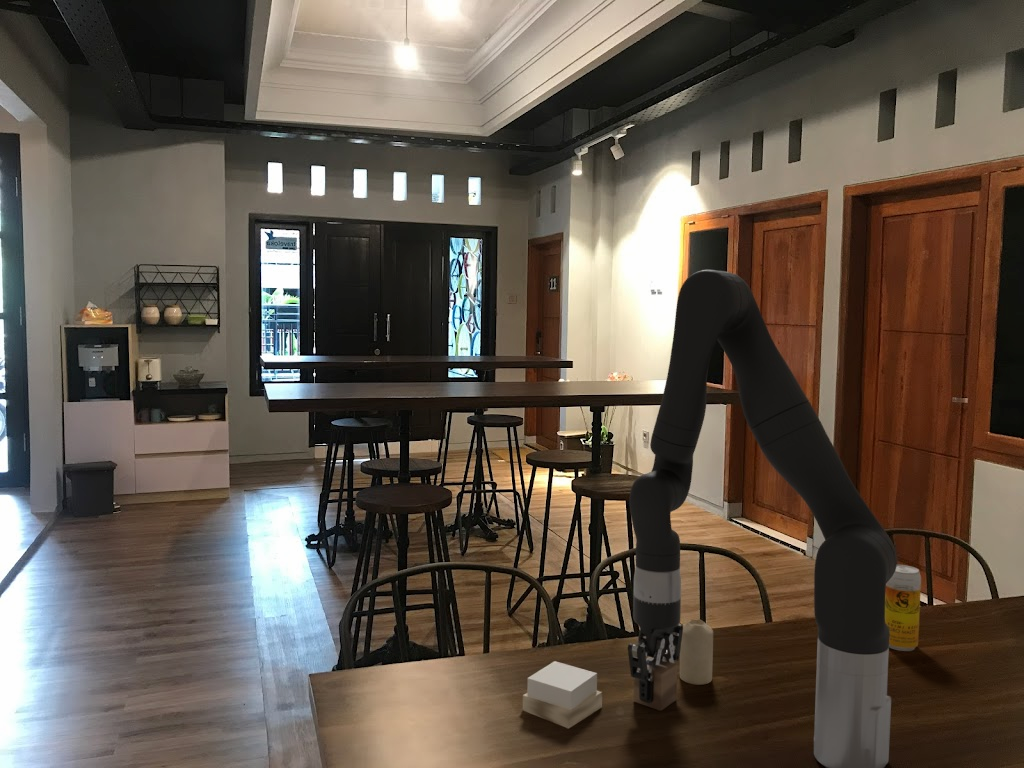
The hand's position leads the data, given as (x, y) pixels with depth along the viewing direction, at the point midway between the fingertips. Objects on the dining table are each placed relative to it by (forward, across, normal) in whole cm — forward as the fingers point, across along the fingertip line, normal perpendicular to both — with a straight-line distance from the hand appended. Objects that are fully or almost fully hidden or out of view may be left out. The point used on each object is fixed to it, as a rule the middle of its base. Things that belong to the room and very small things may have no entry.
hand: (655, 694), depth 135 cm
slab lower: (+2, -12, +10) cm, 16 cm away
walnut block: (+1, 0, 0) cm, 1 cm away
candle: (+1, +12, -1) cm, 12 cm away
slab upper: (-1, -12, +10) cm, 16 cm away
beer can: (+1, +50, -24) cm, 55 cm away
